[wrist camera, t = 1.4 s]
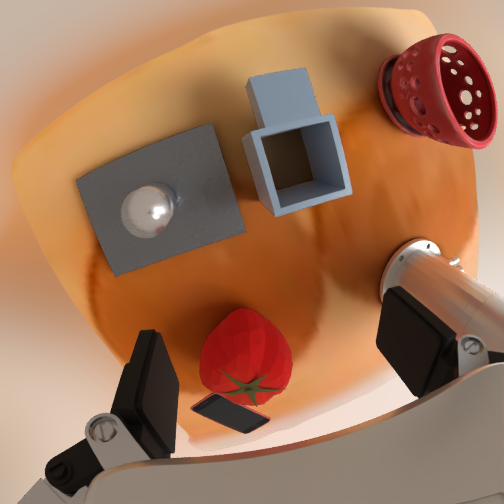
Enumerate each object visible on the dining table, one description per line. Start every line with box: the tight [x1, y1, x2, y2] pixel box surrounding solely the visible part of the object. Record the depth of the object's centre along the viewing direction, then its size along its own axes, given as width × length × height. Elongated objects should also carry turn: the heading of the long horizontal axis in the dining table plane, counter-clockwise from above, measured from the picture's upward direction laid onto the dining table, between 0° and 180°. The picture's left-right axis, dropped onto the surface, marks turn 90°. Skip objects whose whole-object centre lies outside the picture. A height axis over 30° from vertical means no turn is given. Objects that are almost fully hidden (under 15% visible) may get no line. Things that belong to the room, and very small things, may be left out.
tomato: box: [199, 308, 293, 407], centre depth 30 cm, size 11×13×10 cm
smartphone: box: [191, 392, 271, 434], centre depth 41 cm, size 7×1×14 cm
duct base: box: [76, 123, 246, 277], centre depth 25 cm, size 16×12×6 cm
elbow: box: [241, 68, 353, 217], centre depth 24 cm, size 7×12×8 cm, turn 16°
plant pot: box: [378, 34, 498, 149], centre depth 21 cm, size 13×13×12 cm
